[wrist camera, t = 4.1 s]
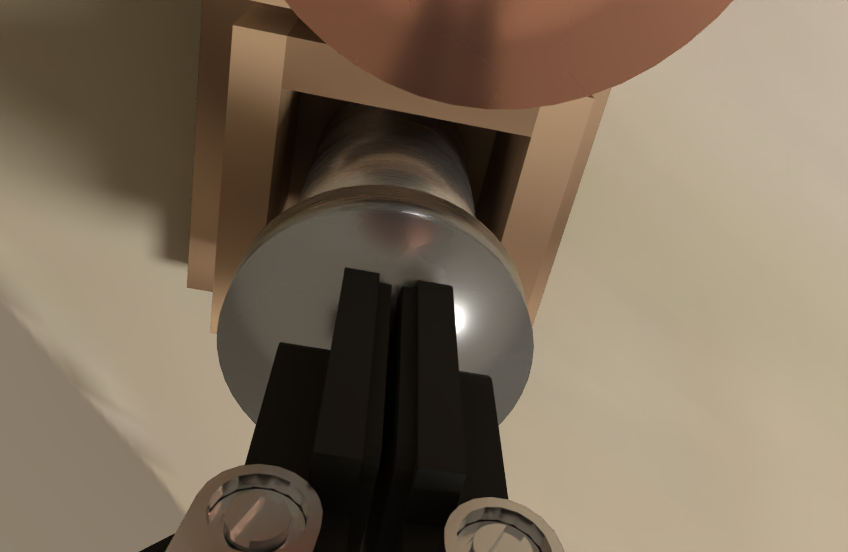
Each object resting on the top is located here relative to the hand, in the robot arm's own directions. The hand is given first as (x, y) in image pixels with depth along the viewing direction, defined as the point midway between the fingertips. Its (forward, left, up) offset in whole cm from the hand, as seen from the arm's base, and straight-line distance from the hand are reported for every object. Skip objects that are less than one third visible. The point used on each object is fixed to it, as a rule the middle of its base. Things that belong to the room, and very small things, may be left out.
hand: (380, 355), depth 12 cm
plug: (0, 0, -8) cm, 8 cm away
